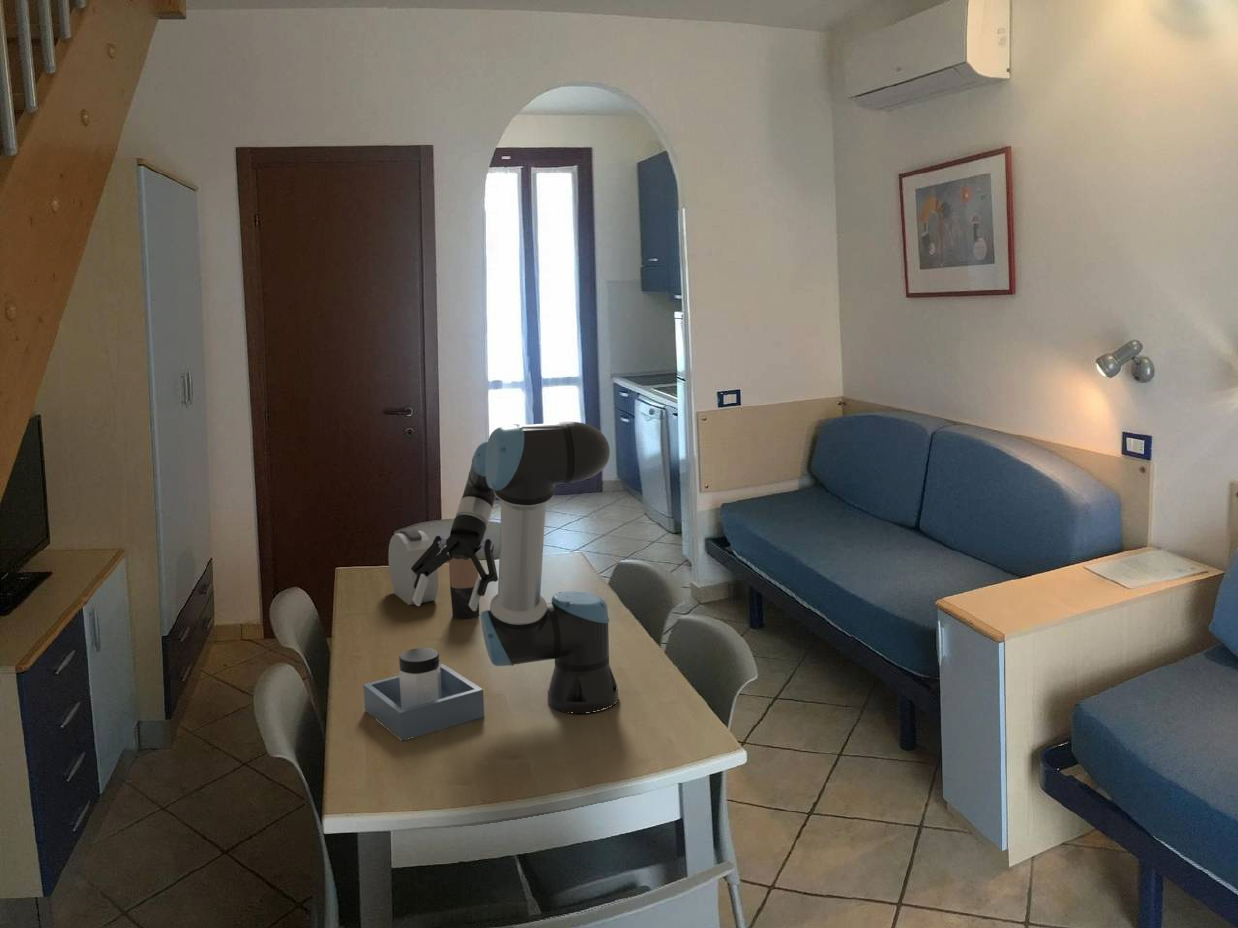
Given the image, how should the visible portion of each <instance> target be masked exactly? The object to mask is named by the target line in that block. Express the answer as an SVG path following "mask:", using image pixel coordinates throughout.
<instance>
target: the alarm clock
mask: <svg viewBox="0 0 1238 928" xmlns="http://www.w3.org/2000/svg"><path fill="white" fill-rule="evenodd" d="M431 545H432V542H431V540H430V538H429V537H428V535H427V534H426V532H424V531H423V530H417V529H415V528H406V529H401V530H399V533H395V534H394V535H392V537H391V538H390V540H389V545H388V556H387V557H388V570H389V576H390V582H391V585H392V589H393V593H394V594H395V595H396V596H397V597H398V598H399V599H401V600H402V601H403V602H404V603H406V604H407V605H408V606H413V605H414V606H415V605H416V604H415V603H414V602H413V601H412V599H413V596H414V593H415V590H416V589H415V588H414V583H415V581H416V578H417V575H416V574H415V573H414V572H413V571H412V570H411V567H412V566H413V565H414V564H415V563H416V562H417V561H418V559H419V558H420V557H421V556H422V555H423V554H424V553H425V552H426V550H427V549H428V548H429V547H430V546H431ZM438 573H439V572H438V569H436V570H435V571H434V572H433V573H431V574H430V575H429V576H427V578H428V579H429V581H428V584H427V586H426V589H425V592H424V595H423V598H422V601H421V604H424V603H430V602H435V600H436V599H437V595H438V590H439V589H438V588H439V574H438Z"/></svg>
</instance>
